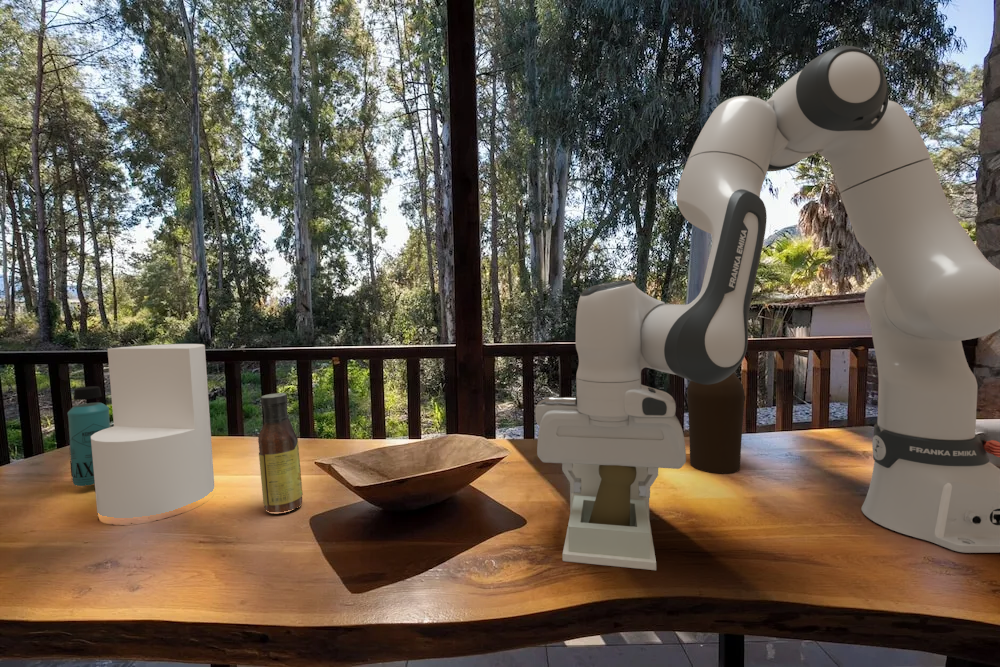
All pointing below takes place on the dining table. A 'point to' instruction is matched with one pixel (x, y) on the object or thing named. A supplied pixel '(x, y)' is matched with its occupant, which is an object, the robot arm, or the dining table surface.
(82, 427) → the beverage bottle
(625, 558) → the holder
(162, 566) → the dining table surface
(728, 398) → the olive oil
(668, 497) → the dining table surface
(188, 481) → the white stepped chair block
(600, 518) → the cork
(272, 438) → the sauce bottle
